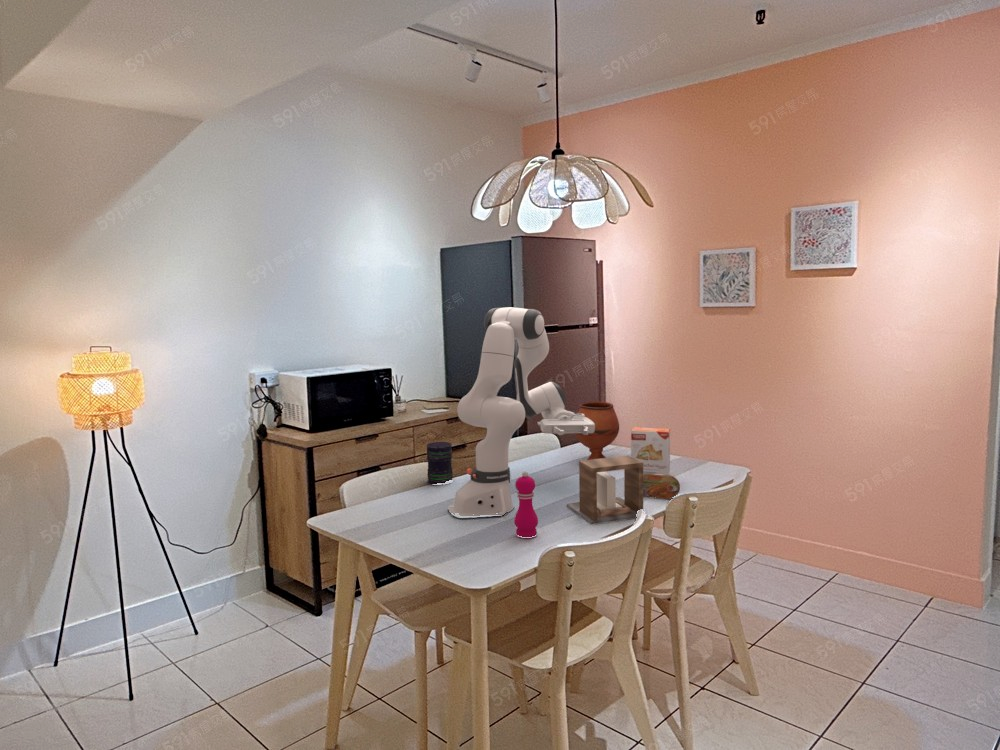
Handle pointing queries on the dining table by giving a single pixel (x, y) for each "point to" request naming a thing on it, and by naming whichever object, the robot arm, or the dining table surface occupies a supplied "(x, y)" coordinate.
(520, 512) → the pepper mill
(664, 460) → the cracker box
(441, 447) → the storage jar
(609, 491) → the tall narrow cream block
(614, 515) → the frame
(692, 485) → the dining table surface
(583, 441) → the goblet
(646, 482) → the tin
